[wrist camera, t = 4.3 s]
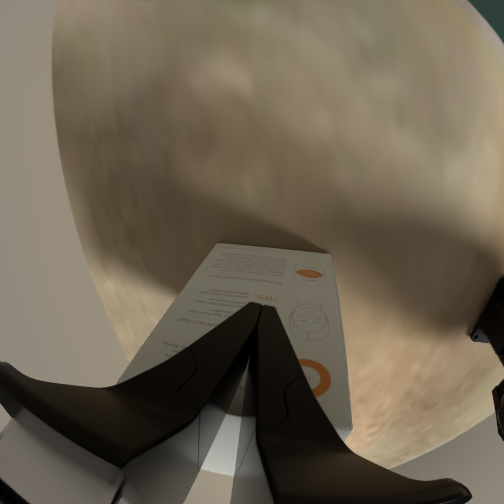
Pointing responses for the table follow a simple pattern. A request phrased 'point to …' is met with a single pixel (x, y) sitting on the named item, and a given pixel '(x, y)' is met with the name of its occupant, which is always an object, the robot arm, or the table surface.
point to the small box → (290, 312)
